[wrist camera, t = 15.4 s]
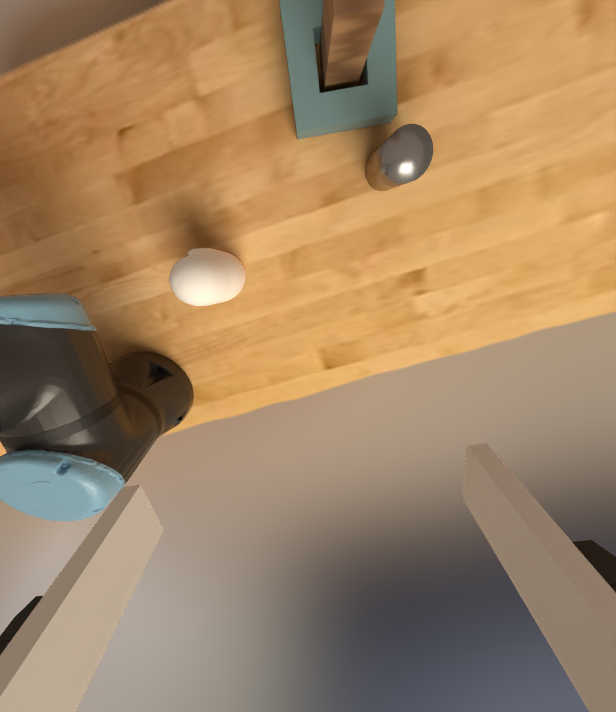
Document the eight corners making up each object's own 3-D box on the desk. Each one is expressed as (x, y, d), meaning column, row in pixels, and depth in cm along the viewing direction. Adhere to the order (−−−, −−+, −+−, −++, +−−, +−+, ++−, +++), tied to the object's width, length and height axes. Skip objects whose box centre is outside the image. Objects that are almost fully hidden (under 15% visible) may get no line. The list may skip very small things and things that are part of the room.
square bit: (323, 94, 36) (333, 15, 23) (319, 52, 34) (327, -59, 21) (356, 88, 35) (384, 5, 22) (353, 45, 34) (382, -71, 21)
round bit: (371, 197, 40) (391, 190, 31) (360, 157, 38) (378, 137, 29) (406, 181, 39) (437, 170, 30) (397, 140, 37) (427, 114, 28)
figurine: (198, 243, 42) (160, 247, 31) (250, 254, 43) (230, 261, 32) (196, 291, 45) (160, 310, 34) (245, 300, 46) (225, 322, 34)
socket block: (297, 139, 37) (296, 131, 34) (280, 12, 33) (278, -9, 30) (390, 122, 37) (396, 113, 34) (386, -9, 32) (394, -32, 29)
